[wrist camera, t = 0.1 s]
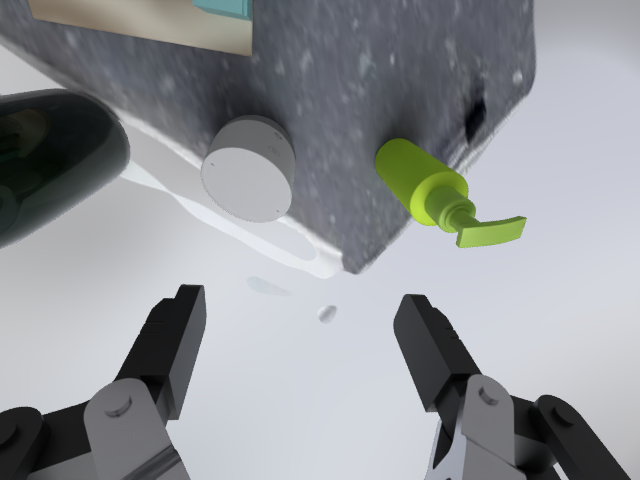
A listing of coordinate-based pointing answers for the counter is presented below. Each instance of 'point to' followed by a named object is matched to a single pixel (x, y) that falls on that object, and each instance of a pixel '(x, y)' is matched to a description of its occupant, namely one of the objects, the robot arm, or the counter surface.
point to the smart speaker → (251, 169)
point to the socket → (227, 8)
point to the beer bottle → (53, 156)
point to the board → (152, 21)
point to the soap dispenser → (439, 195)
